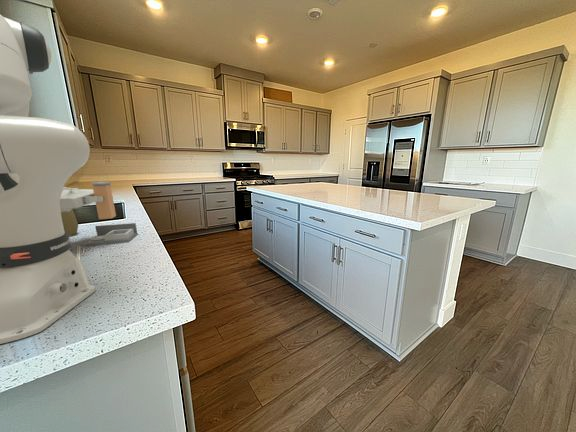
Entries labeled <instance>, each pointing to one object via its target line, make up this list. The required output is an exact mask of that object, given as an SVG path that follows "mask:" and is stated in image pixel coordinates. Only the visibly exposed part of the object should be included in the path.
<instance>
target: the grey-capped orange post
mask: <svg viewBox="0 0 576 432" xmlns="http://www.w3.org/2000/svg"><path fill="white" fill-rule="evenodd" d="M91 185H92V186H91V187H92V189H93V192H94V197H97V196H104V199H105V200H104V201H102V202H95V206H96V212H97V217H98V220H108V219H113V218H115V217H116V216H117V214H116V208H115V203H114V202H115V201H114V198H113V191H112V184H111V182H110V181H94V182H91Z"/></svg>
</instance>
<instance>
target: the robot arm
mask: <svg viewBox="0 0 576 432" xmlns="http://www.w3.org/2000/svg"><path fill="white" fill-rule="evenodd" d="M51 51H52V50H51V48H50V46H49V44H48V41H47V40H46V38H45V36H44V34H43V33H42V32H41V31H39V30H38V28H35V27H34V26H32V25H29V24H27V23H25V22H23V21H20V22H18V21H15V20H13V19H11V18H7V17H4V16H3V15H1V14H0V345H1V344H6V343H9V342H14V341H18V340H23V339H24V338H27V337H30V336H34V335H36V334H39V333H41V332H42V331H44V330H46V329H47V328H49V327H50V326H51V325H53V324H54V323H55V322H56V321H57V320H59V319H60V318H61V317H63V316H64V315H65V314H67V313H68V312H70V311H71V310H73V308H75V307H76V306H77V305H79V304H80V303H81V302H83V301H84V300H85V299H88V297H89V296H91V295H92V294H93V293H95V292H96V287H95V286H94V285H93V284H89V282H88V278H87V276H86V272H85V270H84V267H83V265H82V262H81V259H80V258H79V257H77V256H75V255H74V253H73V252H72V251H71V250H70V249H71V246H72V245H71V239H70V236H68V234H67V233H66V232H65V231H64V227H63V222H62V217H61V212H69V211H71V210H72V209H73V210H74V209H79V208H81V207H84V206H87V205H91V204H92V203H96V202H102V201H104V200H105V199H104V196H97V197H94V192H93V188H91V189H90V188H89V189H87V188H84V189H83V188H78V187H67V186H65V184H66V183H67V181H68V180H69V178H70V177H71V176H72V175H73V174H74V173H76V172H77V171H78V170H80V169H81V168H82V167H83V166H85V165H86V163H87V162H88V160H89V158H90V153H91V152H90V150H91V149H90V148H91V147H90V144H89V143H90V142H89V141H88V139H87V136H85V134H84V133H83V132H82V131H81V130H80V129H79V128H78V127H77V126H75V125H74V124H71V123H68V122H64V121H59V120H54V119H49V118H45V117H34V116H29V115H30V101H31V99H32V97H33V91H32V87H31V82H30V77H29V75H33V74H34V73H43V72H45V71H47V70H48V69H49V67H50V64H51V62H52V52H51Z"/></svg>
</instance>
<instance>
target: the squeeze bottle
mask: <svg viewBox="0 0 576 432" xmlns="http://www.w3.org/2000/svg"><path fill="white" fill-rule="evenodd" d="M61 217H62V222H63V227H64V231H65V232H66V233H67V234H68V237H72V236H74V235H77V234H78V228H79V223H78V221H77V218H76V215H75V212H74V208H73V209H72V210H71V211H69V212H61Z"/></svg>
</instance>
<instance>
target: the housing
mask: <svg viewBox="0 0 576 432" xmlns="http://www.w3.org/2000/svg"><path fill="white" fill-rule="evenodd" d="M94 227H95V231H96V236H92V237H90V240H89V241H87V242H85V245H84V246H86V247H89V246H100V245H102V244H103V245H110V244H111V245H112V244H113V243H114V244H123V242H125V243H130V242H131V241H132V240H133V239H135V238H136V236H137V235H138V230H137V224H136V222H131V223H119V224H103V225H95V226H94ZM129 241H130V242H129Z"/></svg>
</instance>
